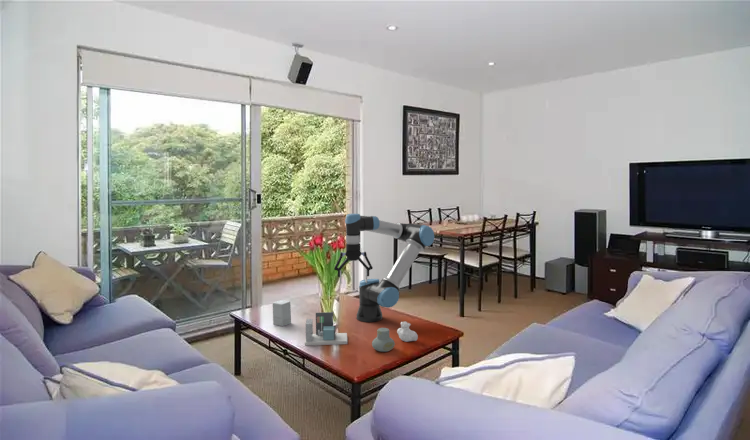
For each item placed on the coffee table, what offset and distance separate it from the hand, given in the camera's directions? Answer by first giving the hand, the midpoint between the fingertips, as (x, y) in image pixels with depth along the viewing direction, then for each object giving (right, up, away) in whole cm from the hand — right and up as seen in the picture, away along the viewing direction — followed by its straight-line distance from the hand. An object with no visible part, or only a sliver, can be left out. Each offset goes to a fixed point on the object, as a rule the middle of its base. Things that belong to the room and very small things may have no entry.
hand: (353, 282), depth 243 cm
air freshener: (+15, -29, -23) cm, 40 cm away
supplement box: (-41, -26, +16) cm, 51 cm away
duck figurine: (+27, -28, -11) cm, 41 cm away
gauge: (-13, -26, -11) cm, 31 cm away
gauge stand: (-13, -28, -11) cm, 33 cm away
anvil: (-22, -27, -12) cm, 37 cm away
